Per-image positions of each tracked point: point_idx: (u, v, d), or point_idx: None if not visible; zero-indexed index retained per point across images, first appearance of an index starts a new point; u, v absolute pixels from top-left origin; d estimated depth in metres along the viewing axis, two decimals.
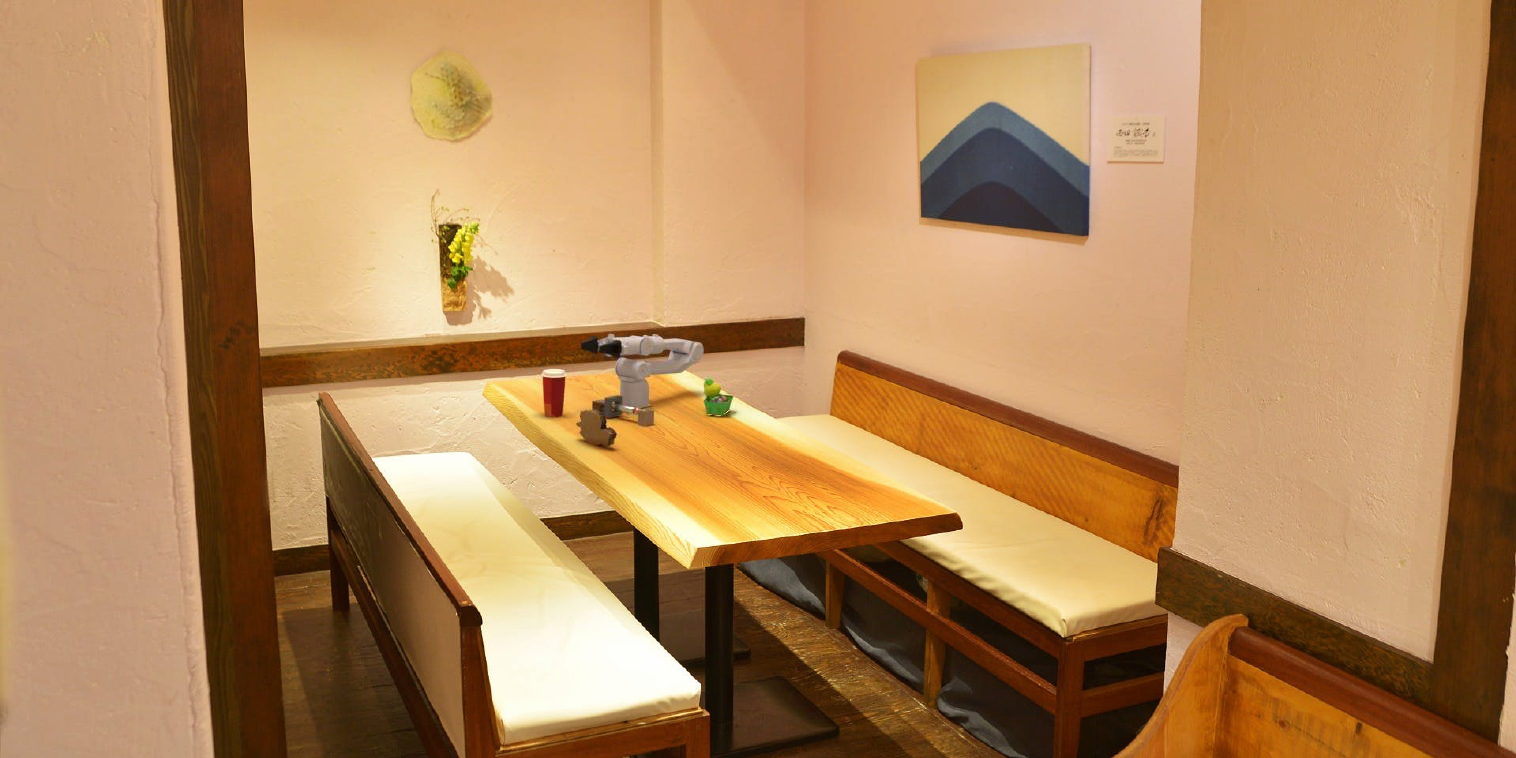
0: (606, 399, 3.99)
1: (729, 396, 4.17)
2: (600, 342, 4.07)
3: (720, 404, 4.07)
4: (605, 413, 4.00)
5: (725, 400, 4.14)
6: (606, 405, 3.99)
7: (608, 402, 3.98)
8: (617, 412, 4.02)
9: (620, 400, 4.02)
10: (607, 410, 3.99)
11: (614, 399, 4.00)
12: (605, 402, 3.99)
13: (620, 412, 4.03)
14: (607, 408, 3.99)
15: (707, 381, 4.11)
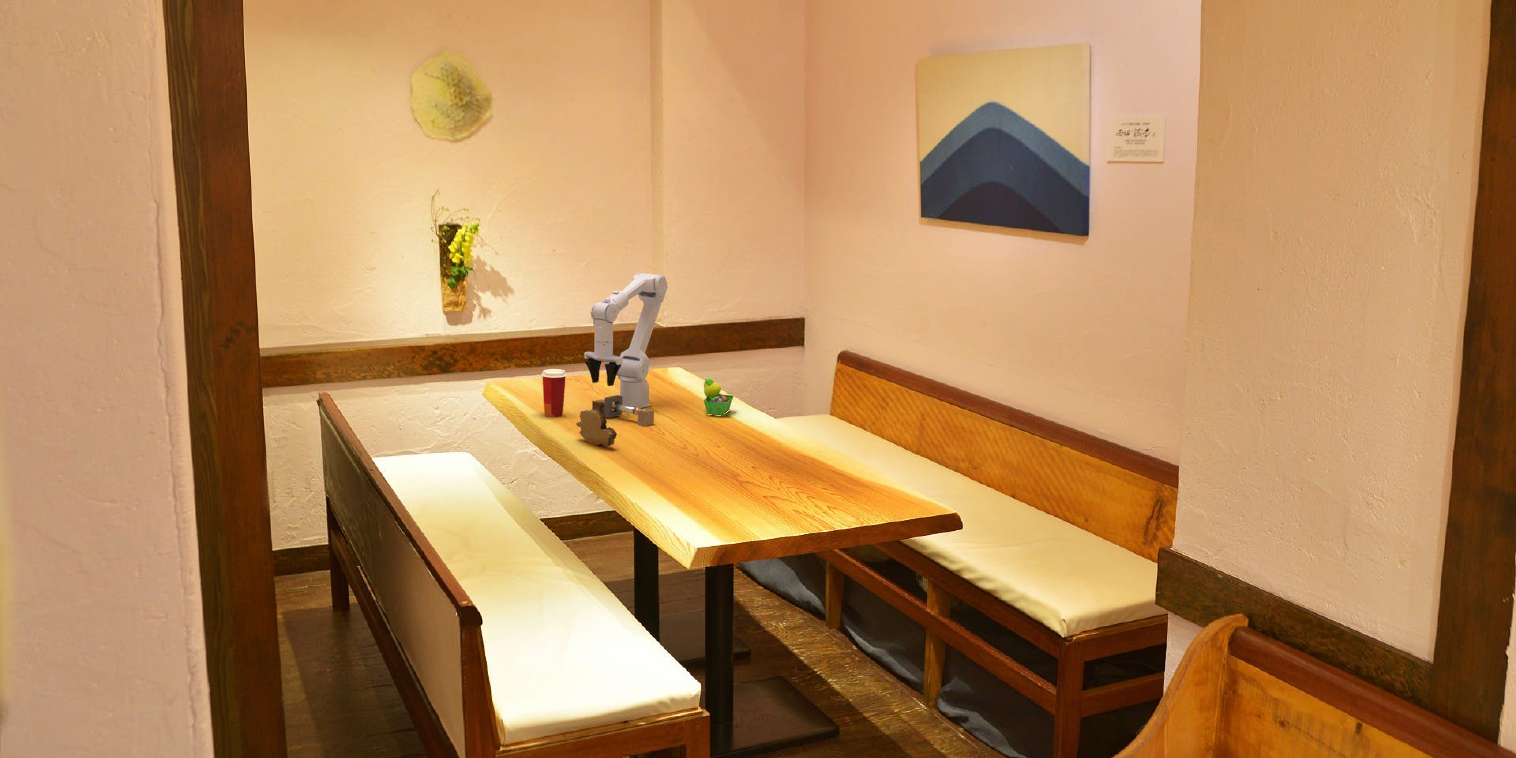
0: (606, 399, 3.99)
1: (729, 396, 4.17)
2: None
3: (720, 404, 4.07)
4: (605, 413, 4.00)
5: (725, 400, 4.14)
6: (606, 405, 3.99)
7: (608, 402, 3.98)
8: (617, 412, 4.02)
9: (620, 400, 4.02)
10: (607, 410, 3.99)
11: (614, 399, 4.00)
12: (605, 402, 3.99)
13: (620, 412, 4.03)
14: (607, 408, 3.99)
15: (707, 381, 4.11)
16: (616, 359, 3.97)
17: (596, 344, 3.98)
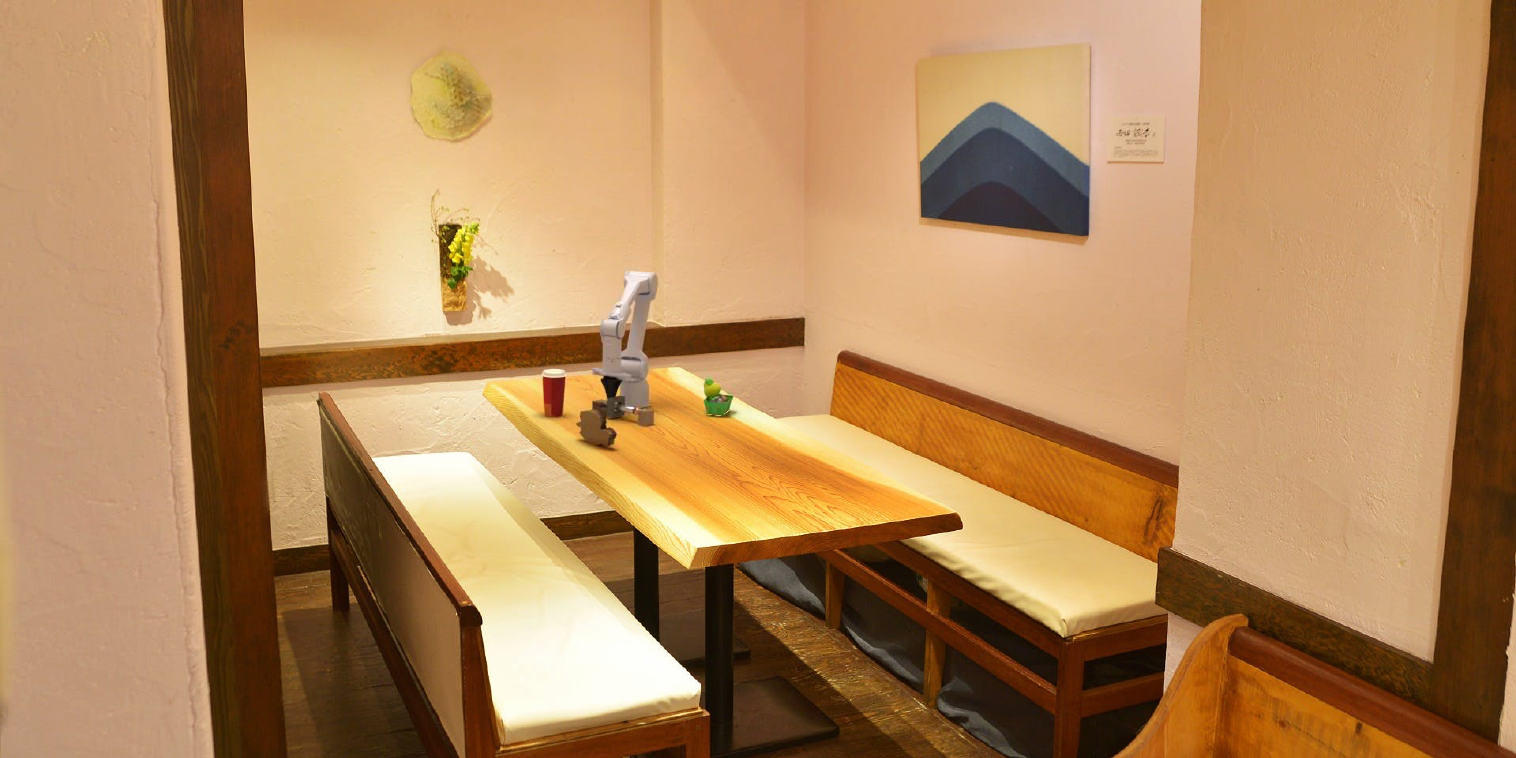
0: (609, 400, 3.98)
1: (729, 396, 4.17)
2: None
3: (720, 404, 4.07)
4: (608, 414, 3.99)
5: (725, 400, 4.14)
6: (608, 406, 3.98)
7: (611, 403, 3.98)
8: (620, 413, 4.01)
9: (623, 400, 4.02)
10: (609, 410, 3.98)
11: (617, 400, 3.99)
12: (608, 403, 3.98)
13: (623, 413, 4.03)
14: (610, 409, 3.98)
15: (707, 381, 4.11)
16: (624, 376, 3.95)
17: (604, 361, 3.97)
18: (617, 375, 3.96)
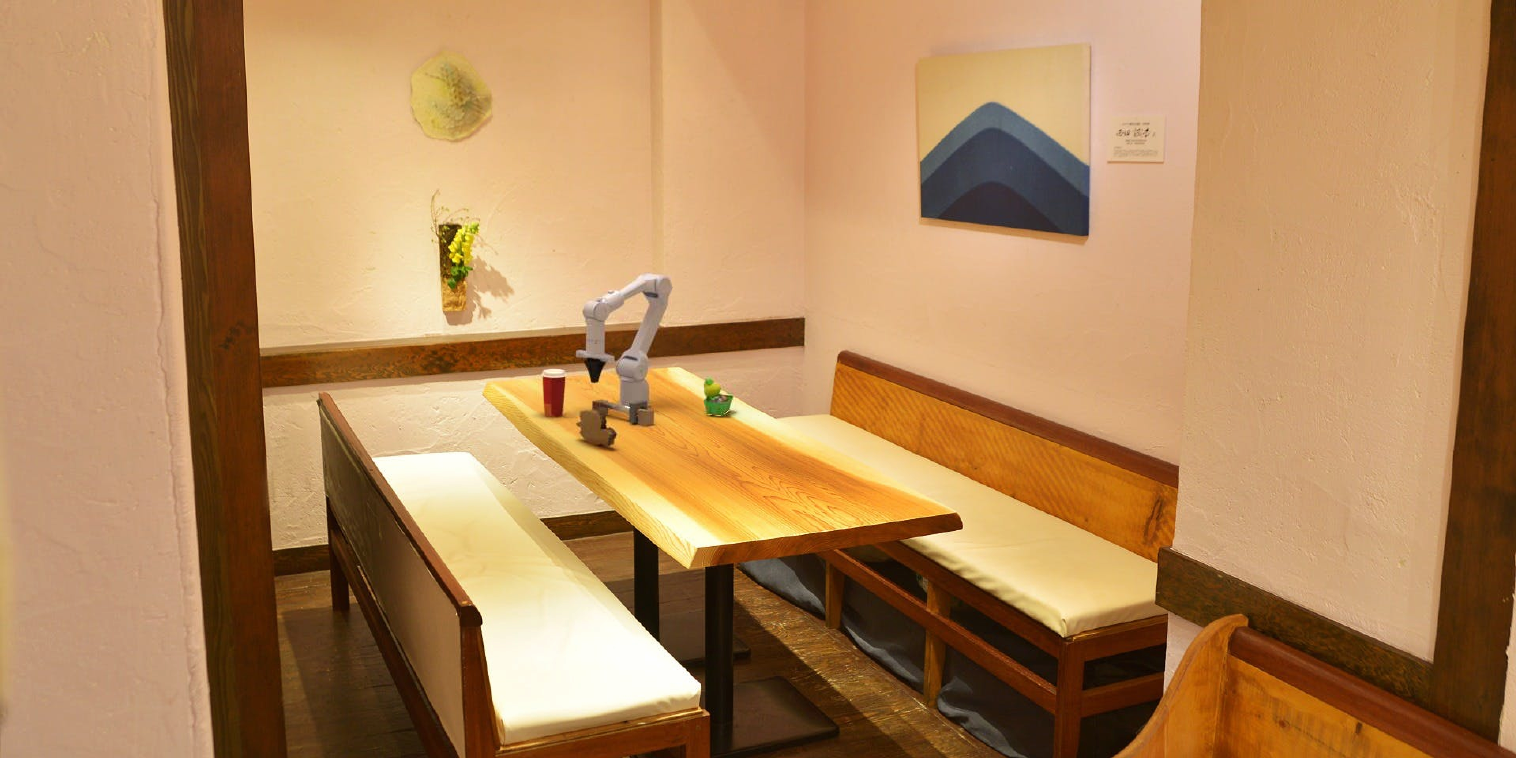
0: (631, 404, 3.93)
1: (729, 396, 4.17)
2: None
3: (720, 404, 4.07)
4: (630, 418, 3.94)
5: (725, 400, 4.14)
6: (631, 411, 3.93)
7: (633, 407, 3.93)
8: None
9: (645, 405, 3.96)
10: (632, 415, 3.93)
11: (639, 404, 3.94)
12: (630, 408, 3.93)
13: None
14: (632, 413, 3.93)
15: (707, 381, 4.11)
16: (608, 357, 3.99)
17: (588, 343, 4.00)
18: (600, 357, 3.99)
